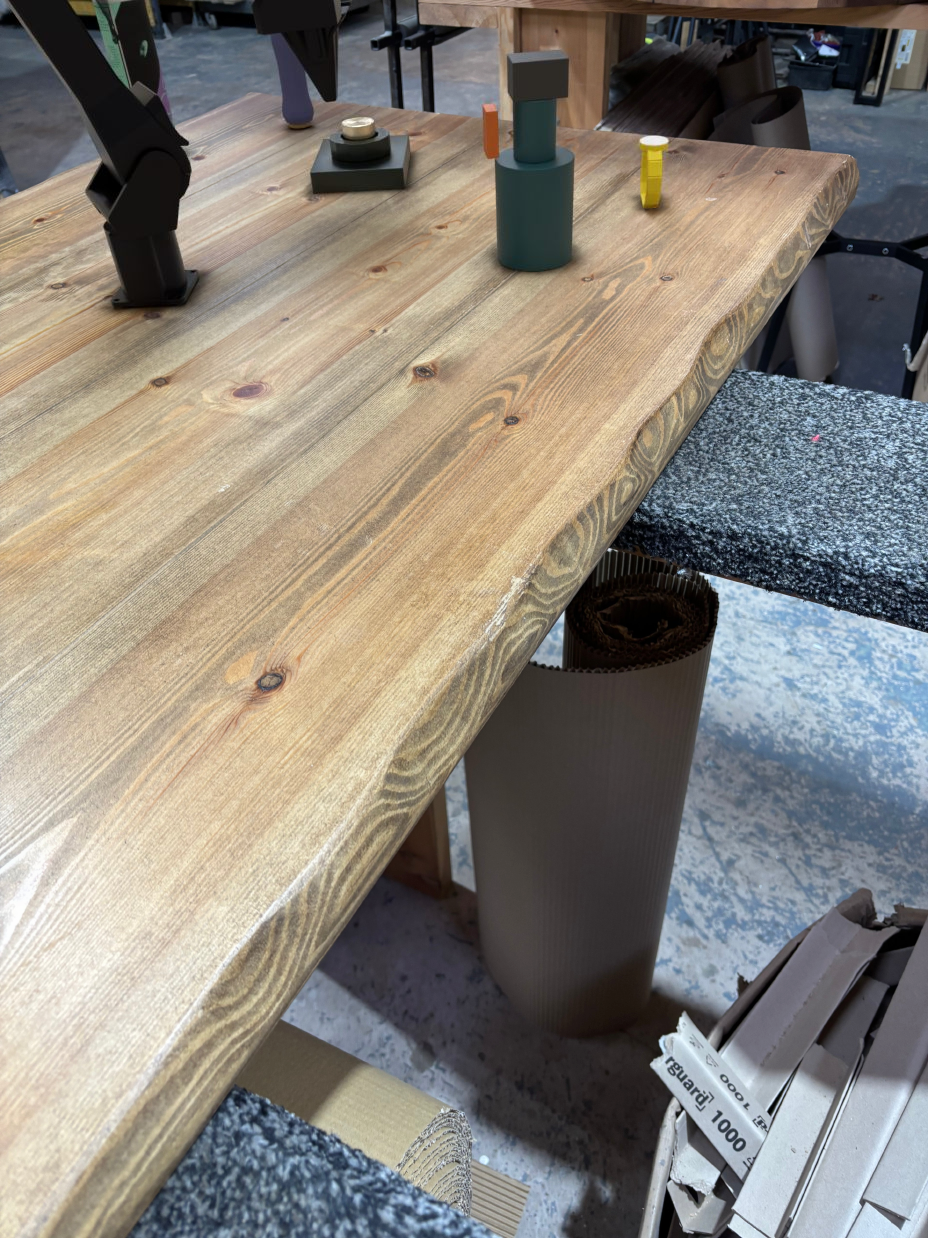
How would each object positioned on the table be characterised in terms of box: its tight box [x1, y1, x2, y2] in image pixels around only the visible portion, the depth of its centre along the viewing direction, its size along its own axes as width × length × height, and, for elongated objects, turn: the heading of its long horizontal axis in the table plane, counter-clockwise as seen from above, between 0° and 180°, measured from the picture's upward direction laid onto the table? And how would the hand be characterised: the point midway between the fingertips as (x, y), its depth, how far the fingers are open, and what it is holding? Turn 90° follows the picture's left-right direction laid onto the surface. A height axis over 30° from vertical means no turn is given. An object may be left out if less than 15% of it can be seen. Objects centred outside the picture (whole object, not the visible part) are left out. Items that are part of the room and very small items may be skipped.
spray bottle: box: [494, 48, 576, 272], centre depth 80 cm, size 7×7×16 cm
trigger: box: [481, 102, 500, 160], centre depth 78 cm, size 1×2×4 cm, turn 6°
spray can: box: [91, 0, 176, 129], centre depth 106 cm, size 6×6×20 cm
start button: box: [340, 116, 376, 141], centre depth 102 cm, size 4×4×2 cm
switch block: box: [309, 126, 411, 195], centre depth 103 cm, size 12×10×4 cm
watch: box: [638, 135, 670, 209], centre depth 91 cm, size 6×3×6 cm, turn 178°
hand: (331, 100), depth 81 cm, fingers closed
